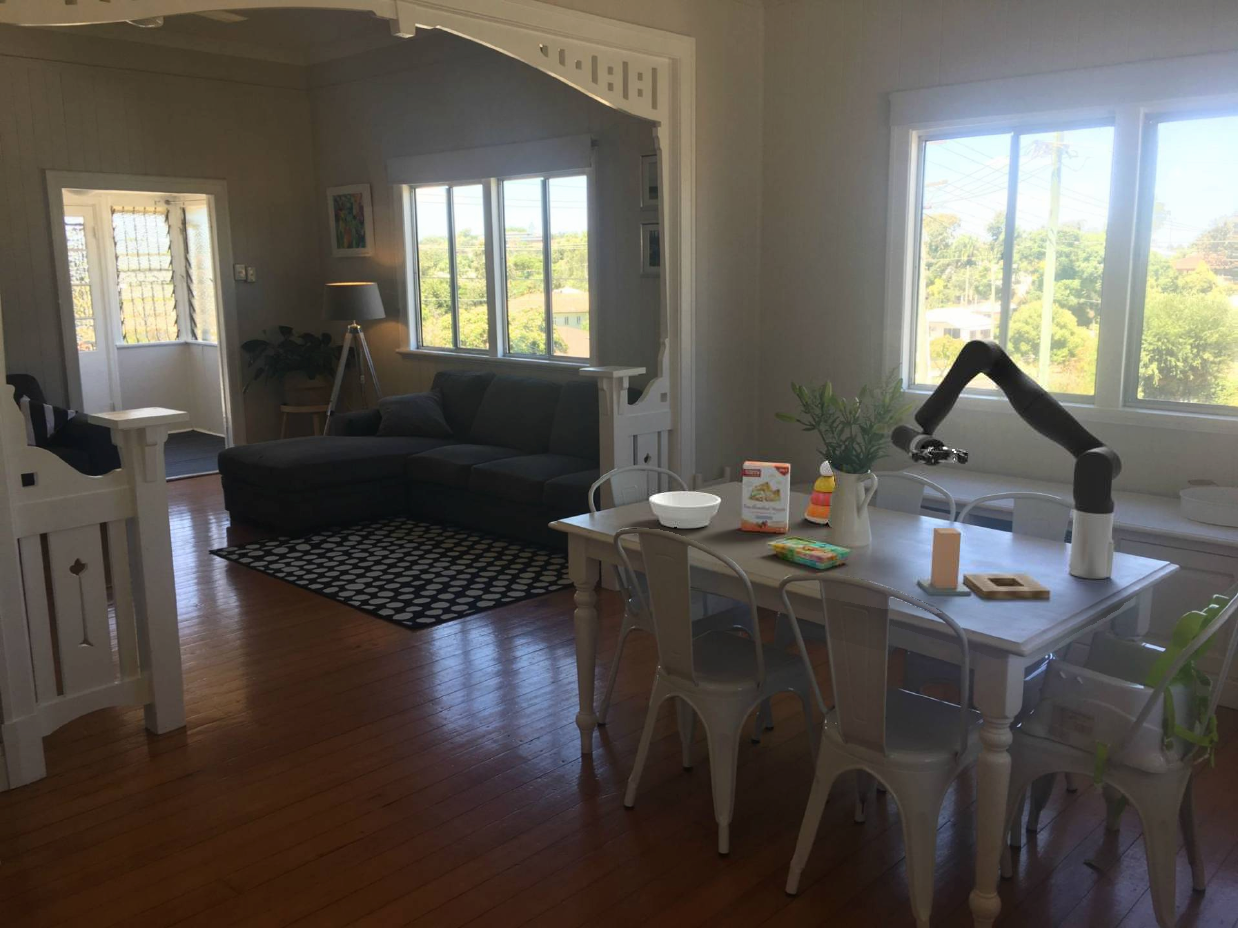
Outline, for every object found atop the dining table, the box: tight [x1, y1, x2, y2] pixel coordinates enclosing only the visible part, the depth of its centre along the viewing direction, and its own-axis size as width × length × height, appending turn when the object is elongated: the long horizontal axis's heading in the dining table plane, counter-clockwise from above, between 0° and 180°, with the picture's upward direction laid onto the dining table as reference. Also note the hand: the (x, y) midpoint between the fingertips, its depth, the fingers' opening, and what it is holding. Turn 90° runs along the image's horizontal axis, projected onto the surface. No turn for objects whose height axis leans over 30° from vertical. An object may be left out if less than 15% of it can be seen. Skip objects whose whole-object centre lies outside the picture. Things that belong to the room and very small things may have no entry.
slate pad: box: [917, 578, 972, 596], centre depth 250 cm, size 10×10×1 cm
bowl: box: [648, 491, 722, 529], centre depth 315 cm, size 22×22×8 cm
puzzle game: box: [765, 536, 852, 570], centre depth 276 cm, size 12×5×20 cm
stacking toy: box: [804, 460, 835, 525], centre depth 319 cm, size 14×14×20 cm
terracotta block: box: [930, 527, 962, 588], centre depth 249 cm, size 5×5×14 cm
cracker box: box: [740, 460, 791, 534], centre depth 307 cm, size 14×6×21 cm, turn 76°
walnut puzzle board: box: [962, 573, 1051, 600], centre depth 249 cm, size 16×14×2 cm
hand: (947, 460), depth 259 cm, fingers open, 8 cm apart
